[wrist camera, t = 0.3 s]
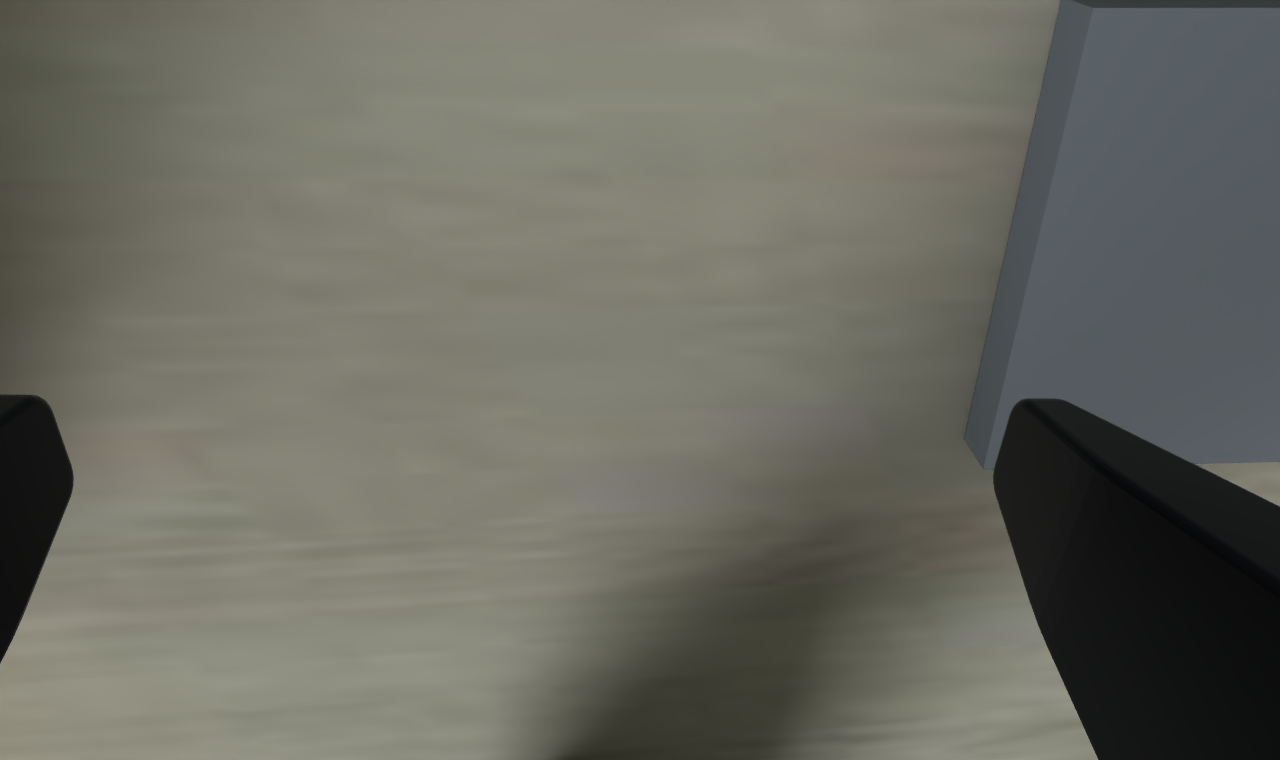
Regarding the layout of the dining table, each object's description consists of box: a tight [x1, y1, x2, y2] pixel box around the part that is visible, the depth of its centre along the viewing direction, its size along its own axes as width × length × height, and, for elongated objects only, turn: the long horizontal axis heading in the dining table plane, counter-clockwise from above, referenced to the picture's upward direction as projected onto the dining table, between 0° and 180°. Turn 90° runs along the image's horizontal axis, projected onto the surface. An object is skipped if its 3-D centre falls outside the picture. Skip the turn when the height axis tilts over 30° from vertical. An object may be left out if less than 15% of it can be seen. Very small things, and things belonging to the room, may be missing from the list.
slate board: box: [964, 0, 1280, 469], centre depth 24 cm, size 12×12×2 cm
